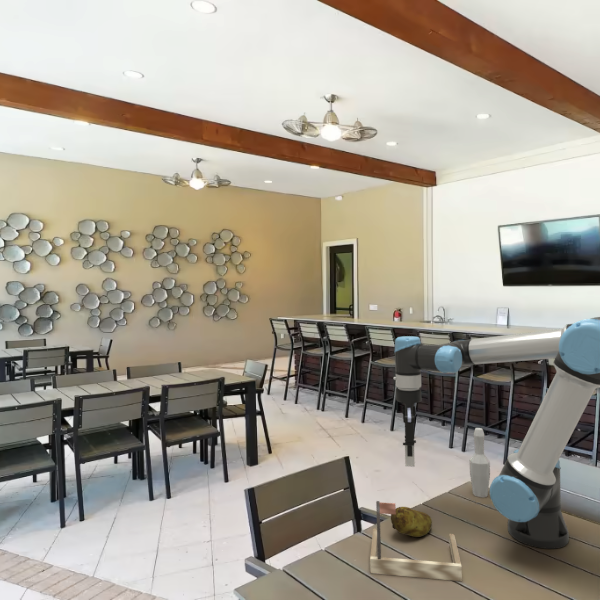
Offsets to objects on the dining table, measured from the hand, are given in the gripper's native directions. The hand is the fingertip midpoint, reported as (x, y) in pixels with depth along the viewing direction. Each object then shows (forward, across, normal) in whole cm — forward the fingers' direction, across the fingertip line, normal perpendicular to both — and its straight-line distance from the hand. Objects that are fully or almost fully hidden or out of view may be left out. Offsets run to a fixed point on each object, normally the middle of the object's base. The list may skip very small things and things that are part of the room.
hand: (409, 465), depth 144 cm
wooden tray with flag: (+16, +22, 0) cm, 27 cm away
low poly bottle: (+16, -20, +23) cm, 35 cm away
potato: (+16, +10, 0) cm, 19 cm away
